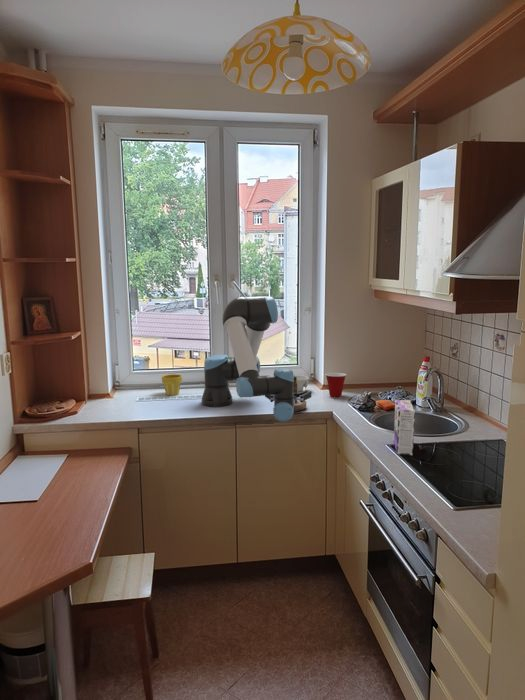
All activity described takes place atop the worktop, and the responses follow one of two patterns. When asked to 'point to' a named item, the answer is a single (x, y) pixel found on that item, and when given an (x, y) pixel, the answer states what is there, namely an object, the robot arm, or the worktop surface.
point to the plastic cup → (335, 383)
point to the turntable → (300, 406)
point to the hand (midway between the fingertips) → (289, 389)
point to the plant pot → (172, 383)
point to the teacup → (301, 382)
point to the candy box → (404, 427)
